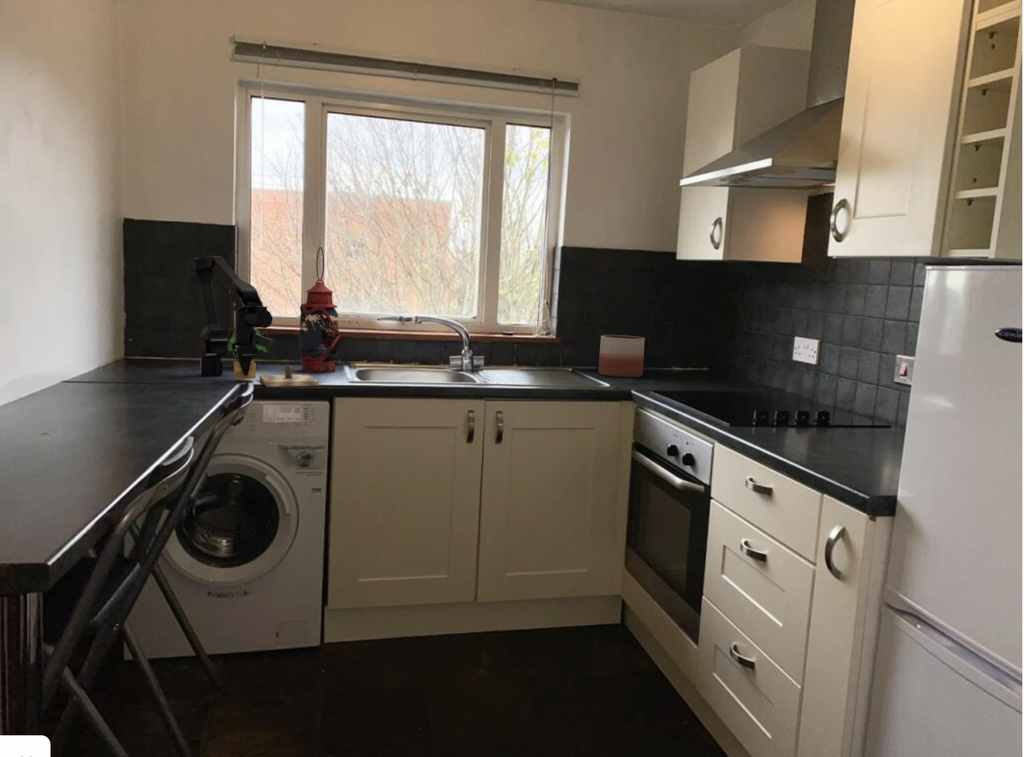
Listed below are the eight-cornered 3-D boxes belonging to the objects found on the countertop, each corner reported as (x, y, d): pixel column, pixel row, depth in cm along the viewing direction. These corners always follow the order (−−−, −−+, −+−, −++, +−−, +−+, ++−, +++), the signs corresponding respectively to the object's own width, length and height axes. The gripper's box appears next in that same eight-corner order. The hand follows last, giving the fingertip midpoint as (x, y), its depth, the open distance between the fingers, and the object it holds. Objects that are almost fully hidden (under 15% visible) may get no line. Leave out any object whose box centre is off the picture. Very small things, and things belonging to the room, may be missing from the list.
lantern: (295, 368, 287) (296, 246, 281) (334, 368, 293) (336, 248, 287) (302, 373, 273) (304, 245, 267) (343, 373, 279) (346, 247, 273)
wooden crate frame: (235, 378, 244) (235, 363, 243) (233, 376, 249) (233, 361, 249) (255, 378, 246) (255, 363, 246) (253, 376, 252) (253, 361, 251)
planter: (642, 374, 319) (645, 336, 317) (642, 379, 301) (644, 339, 299) (599, 371, 322) (601, 334, 320) (596, 376, 304) (599, 336, 302)
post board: (266, 386, 239) (266, 369, 238) (259, 379, 253) (259, 363, 252) (318, 385, 245) (318, 368, 245) (308, 379, 260) (309, 362, 259)
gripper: (275, 328, 241) (275, 377, 243) (266, 324, 257) (266, 370, 259) (237, 328, 236) (237, 378, 238) (231, 323, 253) (231, 370, 255)
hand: (244, 374), depth 248 cm, fingers closed on wooden crate frame, 6 cm apart
